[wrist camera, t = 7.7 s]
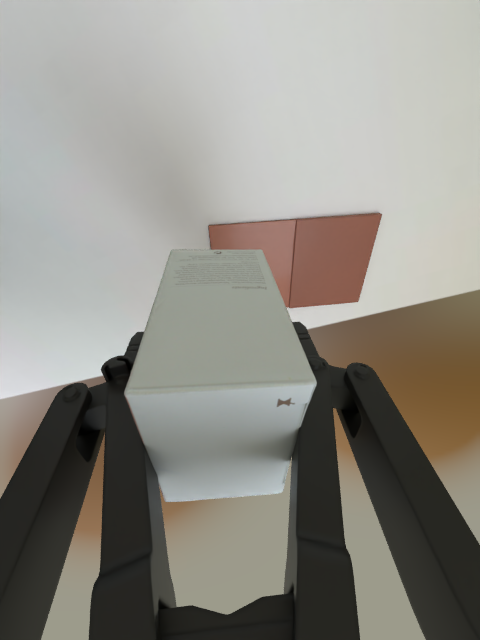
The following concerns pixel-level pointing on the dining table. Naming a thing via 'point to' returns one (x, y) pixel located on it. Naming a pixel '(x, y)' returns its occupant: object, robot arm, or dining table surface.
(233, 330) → the small box
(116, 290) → the dining table surface
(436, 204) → the dining table surface
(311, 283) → the napkin
